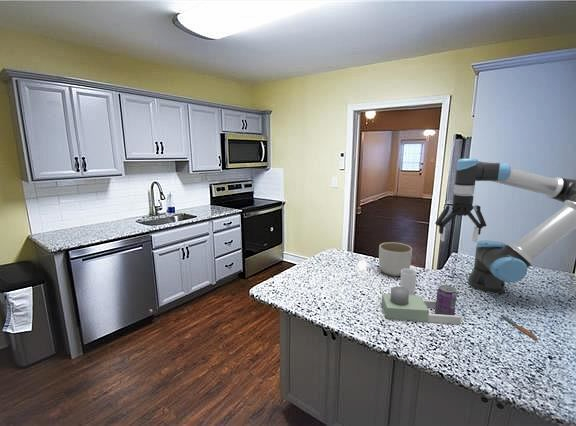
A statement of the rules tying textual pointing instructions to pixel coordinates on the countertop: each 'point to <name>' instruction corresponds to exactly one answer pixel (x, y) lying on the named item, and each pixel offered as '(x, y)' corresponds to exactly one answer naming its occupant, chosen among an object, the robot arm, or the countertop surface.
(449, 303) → the beverage can
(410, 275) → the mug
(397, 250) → the planter
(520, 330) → the knife
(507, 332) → the countertop surface
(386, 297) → the stepped platform base
